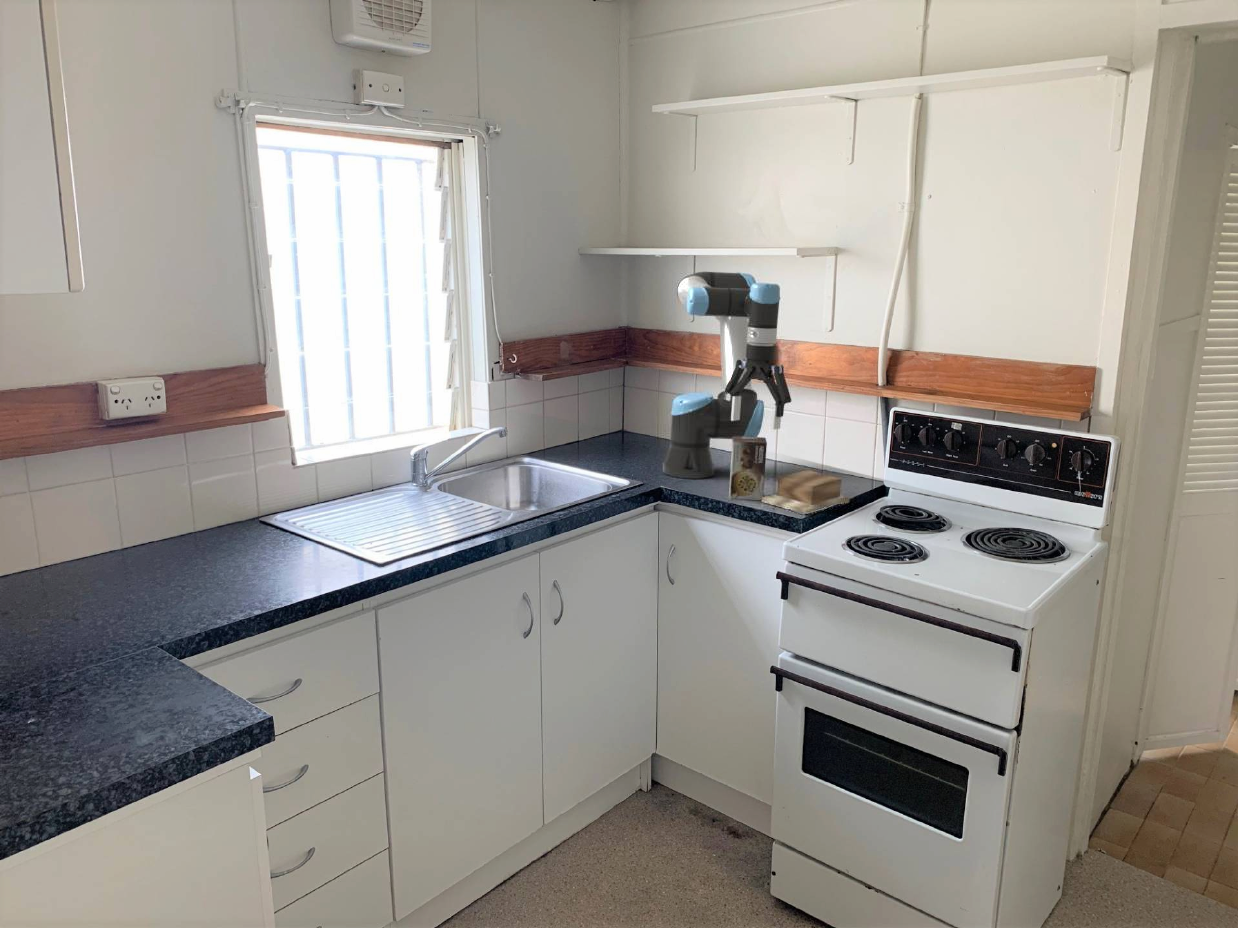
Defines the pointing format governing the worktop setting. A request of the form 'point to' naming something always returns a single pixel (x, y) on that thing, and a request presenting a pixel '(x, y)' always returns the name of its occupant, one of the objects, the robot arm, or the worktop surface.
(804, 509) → the board
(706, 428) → the robot arm
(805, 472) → the base block
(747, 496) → the cookie box
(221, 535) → the worktop surface
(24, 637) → the worktop surface
